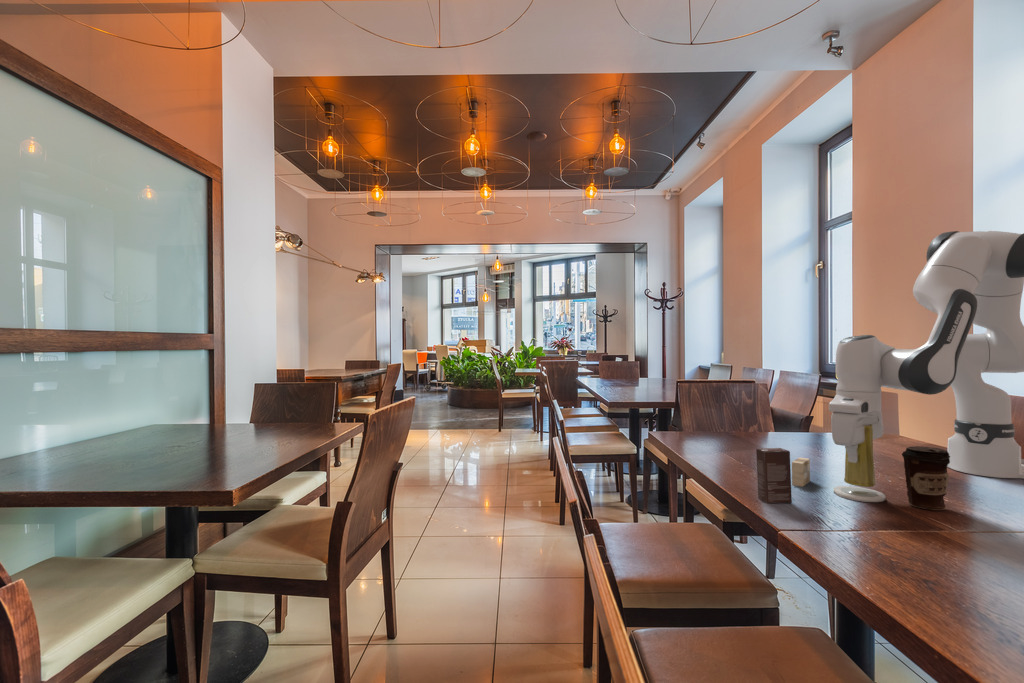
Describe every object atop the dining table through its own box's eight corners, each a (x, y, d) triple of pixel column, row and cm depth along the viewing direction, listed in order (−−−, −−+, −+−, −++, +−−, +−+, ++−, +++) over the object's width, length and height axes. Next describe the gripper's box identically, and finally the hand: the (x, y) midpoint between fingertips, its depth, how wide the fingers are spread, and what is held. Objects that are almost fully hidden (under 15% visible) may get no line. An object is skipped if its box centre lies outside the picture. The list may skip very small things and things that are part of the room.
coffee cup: (963, 514, 100) (962, 453, 101) (918, 512, 102) (917, 452, 102) (935, 501, 109) (934, 445, 109) (894, 499, 111) (893, 444, 111)
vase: (882, 487, 110) (881, 426, 111) (855, 487, 111) (854, 426, 111) (863, 479, 117) (862, 421, 117) (838, 479, 117) (837, 422, 117)
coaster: (844, 486, 121) (843, 483, 121) (892, 496, 112) (891, 493, 112) (826, 494, 115) (826, 490, 115) (875, 505, 107) (875, 501, 107)
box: (781, 497, 113) (780, 447, 113) (792, 503, 108) (791, 451, 109) (756, 497, 113) (755, 447, 113) (766, 503, 108) (765, 451, 109)
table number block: (799, 479, 128) (799, 457, 128) (810, 481, 126) (810, 458, 126) (792, 485, 123) (791, 462, 123) (803, 487, 121) (802, 463, 121)
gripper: (860, 398, 122) (861, 451, 122) (825, 404, 111) (826, 463, 110) (890, 400, 117) (891, 456, 117) (856, 407, 105) (857, 469, 105)
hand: (859, 460), depth 114 cm, fingers closed on vase, 5 cm apart
